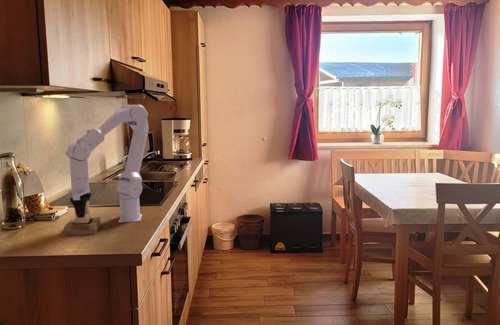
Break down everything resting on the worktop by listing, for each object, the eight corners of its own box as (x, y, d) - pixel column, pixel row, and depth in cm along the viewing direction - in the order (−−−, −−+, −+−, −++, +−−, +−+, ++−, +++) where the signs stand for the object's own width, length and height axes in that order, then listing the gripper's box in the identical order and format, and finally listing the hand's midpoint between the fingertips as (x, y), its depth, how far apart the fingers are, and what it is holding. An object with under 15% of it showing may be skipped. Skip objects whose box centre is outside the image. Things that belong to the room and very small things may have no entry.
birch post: (78, 220, 147) (77, 201, 146) (90, 219, 147) (88, 200, 146) (75, 223, 143) (74, 203, 142) (87, 222, 143) (86, 203, 142)
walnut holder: (71, 226, 150) (71, 218, 149) (100, 225, 151) (100, 217, 151) (64, 235, 140) (64, 227, 139) (95, 233, 142) (95, 225, 141)
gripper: (72, 174, 149) (75, 210, 151) (62, 182, 135) (64, 222, 137) (93, 173, 150) (95, 209, 152) (84, 181, 136) (87, 220, 138)
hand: (82, 215), depth 145 cm, fingers closed on birch post, 4 cm apart
